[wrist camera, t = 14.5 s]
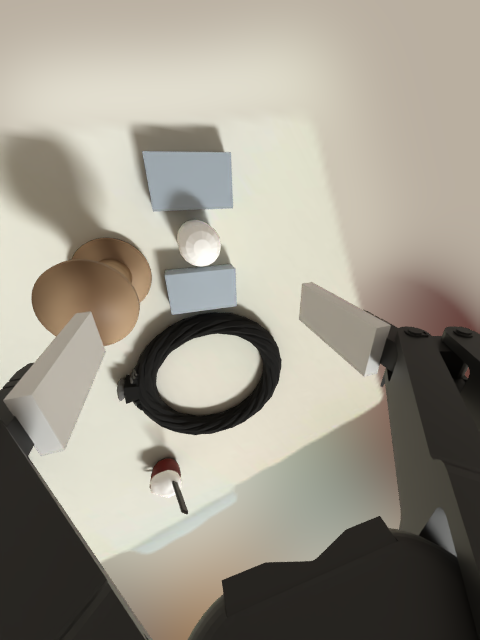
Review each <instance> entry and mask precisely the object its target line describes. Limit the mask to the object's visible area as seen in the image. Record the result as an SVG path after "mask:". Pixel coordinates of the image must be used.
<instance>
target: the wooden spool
mask: <svg viewBox="0 0 480 640" xmlns="http://www.w3.org/2000/svg"><path fill="white" fill-rule="evenodd" d="M151 281H152V275H151V269H150V266H149V264H148V262H147V260H146V258H145V257H144V256H143V254H142V253H141V252H140V251H139V250H137V249H136V248H135V247H134V246H132V245H130V244H129V243H127V242H124V241H122V240H118V239H114V238H99V239H95V240H92V241H90V242H87V243H86V244H84V245H82V246H81V247H80V248H79V249H78V250H77V251H76V252H75V254H74V255H73V257H72V260H68V261H64V262H61V263H59V264H57V265H55V266H53V267H51V268H49V269H48V270H46V271H45V272H44V273H43V274H42V275H41V276H40V277H39V278H38V279H37V281H36V283H35V284H34V287H33V290H32V305H33V309H34V312H35V314H36V316H37V318H38V320H39V321H40V322H41V324H42V325H43V326H44V327H45V328H46V329H47V330H48V331H49V332H51V333H52V334H53V335H55V336H57V335H58V334H59V333H60V332H61V330H62V329H63V328H64V327H65V326H66V325H67V323H68V322H69V321H70V320H71V319H72V317H73V316H74V315H75V314H76V313H83V312H90V311H91V313H92V315H93V318H94V321H95V324H96V327H97V329H98V332H99V335H100V338H101V340H102V343H103V346H107V345H110V344H114V343H116V342H118V341H120V340H122V339H123V338H125V337H126V336H127V335H128V334H129V333H130V332H131V331H132V329H133V328H134V326H135V324H136V322H137V319H138V315H139V310H140V302H141V301H142V300H143V299H144V298H145V297H146V295H147V294H148V292H149V289H150V286H151Z"/></svg>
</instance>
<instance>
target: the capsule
mask: <svg viewBox="0 0 480 640" xmlns="http://www.w3.org/2000/svg"><path fill="white" fill-rule="evenodd" d="M177 242H178V246H179V250H180V254H181V255H182V256H183V258H184V259H185V260H186V261H187V262H189V263H190V264H192V265H195V266H201V267H202V266H207V265H210V264H211V263H213V262H214V261H215V260H216V259H217V257H218V256H219V253H220V249H221V243H220V237H219V235H218V234H217V232H216V230H215V229H214V228H212V227H211V226H210V225H208V224H207V223H205V222H203V221H200V220H196V219H195V220H189V221H187V222H185V223H184V224H182V226H181V227H180V229H179V230H178V235H177Z"/></svg>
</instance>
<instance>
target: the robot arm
mask: <svg viewBox="0 0 480 640" xmlns="http://www.w3.org/2000/svg"><path fill="white" fill-rule="evenodd" d="M299 320H300V321H301V322H303V323H304V324H305V325H306V326H307V327H308V328H309V329H310V330H312V331H313V332H314V333H315V334H316V335H317V336H318V337H320V338H321V339H322V340H323V341H324V342H325V343H326V344H328V345H329V346H330V347H331V348H332V349H333V350H334V351H335V352H337V353H338V354H339V355H340V356H341V357H342V358H343V359H345V360H346V361H347V362H348V363H349V364H350V365H351V366H352V367H354V368H355V369H356V370H357V371H358V372H359V373H360V374H362V375H363V376H364V377H365V376H369V375H373V374H377V372H378V368H379V365H380V364H382V365H383V366H385V367H386V370H385V373H384V376H383V379H382V382H381V387H383V385H384V384H385V386H386V394H387V402H388V410H389V419H390V427H391V435H392V443H393V451H394V459H395V467H396V475H397V484H398V492H399V500H400V507H401V521H400V527H399V530H398V529H391V528H388V527H387V526H386V524H385V523H384V521H383V520H382V519H381V517H380V516H378V517H376V518H374V519H371V520H369V521H366V522H364V523H361V524H359V525H356V526H354V527H352V528H349V529H347V530H345V531H344V532H343V533H342V534H341V535H340V536H339V537H338V538H337V539H336V540H335V541H334V542H333V543H332V544H331V545H330V546H329V547H328V548H327V549H326V550H325V551H324V552H323V553H322V554H321V555H320V556H319V557H318V558H317V559H315V560H313V561H305V562H273V563H272V562H269V563H263V564H261V565H258V566H256V567H254V568H251V569H249V570H246V571H244V572H242V573H239V574H236V575H234V576H232V577H229V578H227V579H224V580H222V586H223V592H224V594H223V595H222V596H221V597H220V598H218V599H217V600H216V601H215V602H214V603H213V604H212V605H211V607H210V608H209V609H208V610H207V611H206V612H205V613H204V615H203V616H202V618H201V619H200V620H199V622H198V623H197V625H196V626H195V628H194V629H193V631H192V633H191V635H190V637H189V638H188V640H480V334H478V333H477V332H475V331H472V330H470V329H468V328H464V327H447V328H445V330H444V332H443V335H442V336H431V335H430V334H429V333H427V332H426V331H424V330H421V329H418V328H414V327H400V328H397V327H395V326H393V325H392V324H390V323H388V322H386V321H384V320H382V319H380V318H379V317H377V316H374V315H373V314H371V313H370V312H368V311H365V310H362V309H360V308H358V307H357V306H355V305H353V304H351V303H349V302H347V301H346V300H344V299H342V298H340V297H338V296H336V295H335V294H333V293H331V292H329V291H327V290H325V289H324V288H322V287H320V286H318V285H316V284H314V283H313V282H311V283H303V284H302V291H301V303H300V314H299ZM105 352H106V351H105V349H104V346H103V343H102V340H101V338H100V335H99V332H98V329H97V327H96V324H95V321H94V318H93V315H92V313H91V311H90V312H83V313H76V314H75V315H74V316H73V317H72V319H71V320H70V321H69V322H68V323H67V325H66V326H65V327H64V328H63V329H62V330H61V332H60V333H59V334H58V335H57V336H56V338H55V339H54V340H53V341H52V342H51V344H50V345H49V346H48V347H47V348H46V350H45V351H44V352H43V353H42V354H41V356H40V357H39V358H38V359H37V360H36V362H35V363H29V364H27V365H26V366H25V367H23V368H22V369H20V370H19V371H17V372H16V373H15V374H14V375H13V377H12V378H11V379H10V380H9V382H7V383H6V384H5V386H4V387H3V389H1V390H0V640H152V638H151V637H150V636H149V634H148V633H147V631H146V630H145V628H144V627H143V626H142V624H141V623H140V621H139V620H138V619H137V617H136V615H135V614H134V612H133V611H132V610H131V608H130V607H129V605H128V604H127V602H126V601H125V599H124V598H123V596H122V595H121V593H120V592H119V590H118V589H117V587H116V586H115V584H114V583H113V581H112V580H111V579H110V577H109V575H108V574H107V573H106V571H105V570H104V568H103V567H102V565H101V564H100V562H99V561H98V559H97V558H96V556H95V555H94V553H93V552H92V550H91V549H90V547H89V546H88V544H87V543H86V541H85V540H84V539H83V537H82V536H81V534H80V533H79V531H78V530H77V528H76V527H75V525H74V524H73V522H72V521H71V519H70V518H69V516H68V515H67V513H66V512H65V510H64V509H63V507H62V506H61V505H60V503H59V502H58V500H57V499H56V497H55V496H54V494H53V493H52V491H51V490H50V488H49V487H48V485H47V484H46V482H45V481H44V479H43V478H42V476H41V475H40V473H39V472H38V471H37V469H36V468H35V466H34V465H33V463H32V462H31V460H30V459H29V458H28V455H29V453H30V451H31V450H32V448H33V446H34V447H35V448H36V450H37V451H38V453H39V454H40V456H43V455H47V454H51V453H55V452H59V451H63V450H65V448H66V446H67V443H68V441H69V439H70V436H71V434H72V431H73V429H74V427H75V424H76V422H77V419H78V417H79V415H80V412H81V410H82V407H83V405H84V403H85V400H86V398H87V396H88V393H89V391H90V388H91V386H92V384H93V381H94V379H95V376H96V374H97V372H98V369H99V367H100V364H101V362H102V360H103V357H104V355H105ZM468 367H469V369H470V375H469V378H467V377H466V376H465V375H464V374H465V372H466V371H467V368H468Z"/></svg>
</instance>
